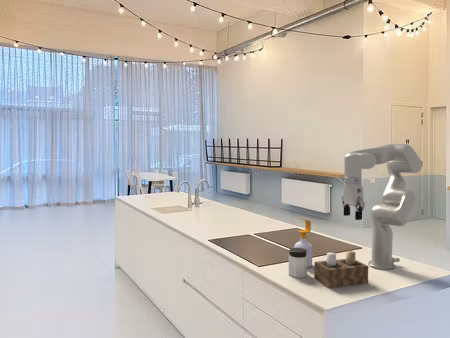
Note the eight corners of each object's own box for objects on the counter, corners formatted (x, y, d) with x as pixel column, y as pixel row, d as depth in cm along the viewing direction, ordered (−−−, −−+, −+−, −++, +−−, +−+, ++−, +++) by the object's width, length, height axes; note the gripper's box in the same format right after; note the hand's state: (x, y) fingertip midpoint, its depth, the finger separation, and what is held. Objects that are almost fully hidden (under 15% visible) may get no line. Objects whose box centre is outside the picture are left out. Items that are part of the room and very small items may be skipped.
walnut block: (352, 274, 180) (352, 257, 179) (367, 283, 169) (368, 265, 168) (314, 278, 175) (314, 260, 174) (328, 288, 163) (328, 269, 163)
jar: (284, 273, 181) (285, 249, 180) (296, 270, 186) (297, 246, 185) (298, 279, 174) (299, 253, 173) (310, 275, 179) (311, 250, 178)
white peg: (332, 268, 172) (333, 252, 172) (337, 271, 169) (337, 254, 168) (324, 269, 171) (325, 253, 171) (329, 272, 167) (329, 255, 167)
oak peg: (351, 266, 175) (352, 250, 175) (356, 269, 171) (357, 253, 171) (344, 267, 174) (344, 251, 173) (349, 270, 170) (349, 253, 170)
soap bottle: (290, 263, 197) (291, 217, 195) (305, 261, 200) (306, 215, 198) (300, 268, 188) (300, 220, 187) (315, 266, 192) (316, 219, 190)
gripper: (371, 182, 165) (371, 221, 167) (349, 178, 182) (349, 213, 183) (356, 183, 164) (355, 222, 165) (335, 179, 180) (335, 214, 182)
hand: (352, 217), depth 174 cm, fingers open, 9 cm apart
